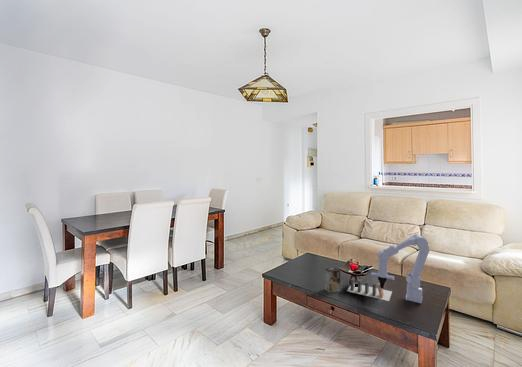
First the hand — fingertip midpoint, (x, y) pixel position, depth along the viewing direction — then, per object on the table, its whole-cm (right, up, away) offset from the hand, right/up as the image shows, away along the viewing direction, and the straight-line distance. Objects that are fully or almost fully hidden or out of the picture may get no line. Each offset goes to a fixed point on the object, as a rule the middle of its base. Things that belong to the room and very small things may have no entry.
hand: (382, 287), depth 189 cm
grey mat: (-6, -6, +8) cm, 12 cm away
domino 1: (-17, -5, +11) cm, 21 cm away
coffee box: (-32, -6, +10) cm, 34 cm away
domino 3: (-8, -6, +6) cm, 12 cm away
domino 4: (-4, -6, +3) cm, 8 cm away
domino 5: (0, -6, +1) cm, 6 cm away
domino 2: (-13, -6, +9) cm, 16 cm away
